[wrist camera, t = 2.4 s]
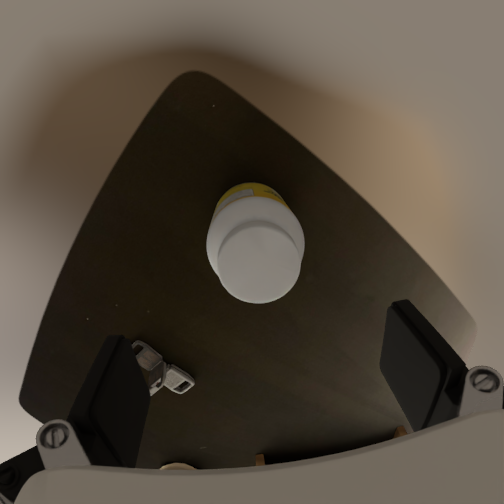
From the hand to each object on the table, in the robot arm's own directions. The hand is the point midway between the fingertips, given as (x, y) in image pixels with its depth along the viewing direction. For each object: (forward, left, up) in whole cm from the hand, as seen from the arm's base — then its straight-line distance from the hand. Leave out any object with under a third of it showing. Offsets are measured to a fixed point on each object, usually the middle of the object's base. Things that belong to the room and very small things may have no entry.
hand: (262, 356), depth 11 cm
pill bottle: (0, 0, -19) cm, 19 cm away
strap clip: (+12, +16, -19) cm, 28 cm away
